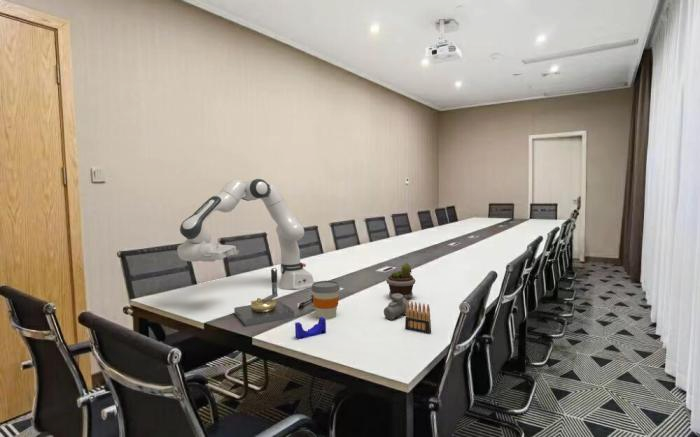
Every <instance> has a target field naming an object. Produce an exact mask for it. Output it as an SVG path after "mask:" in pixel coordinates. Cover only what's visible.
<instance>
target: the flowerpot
mask: <svg viewBox="0 0 700 437" xmlns="http://www.w3.org/2000/svg"><path fill="white" fill-rule="evenodd" d="M408 262H409V261H407V262H406V263H403V264H402V266H401V269H398V270H394V271H392V273H391V275H388V277H387V278H386V280H385V282H386V284H387V285H388V288H389V296H390V297H391V298H392V295H393V294H396V293H398V294H402V295H403V298H405V299H407V301H409V300H410V299H412V297H413V295H414V294H413V287H414V285H415V283H416V279H415V278H414V277H413V275H412V272H413V268H412V267H413V266H411V265H410V263H408Z"/></svg>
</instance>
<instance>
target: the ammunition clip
mask: <svg viewBox="0 0 700 437" xmlns="http://www.w3.org/2000/svg"><path fill="white" fill-rule="evenodd" d="M409 301H410V300H407V307H406V314H405V323H404V329H405V330H408V331H412V332H418V333H423V334H427V335H431V333H432V323H431V321H432V320H431V311H430V309H431V308H430V304H429V303H427V305H426V304H425V302H423V303H422V304H421V302H418V303H417V301H415V302H414V303H413V301H412V300H411V302H409ZM409 304H410V307H409Z"/></svg>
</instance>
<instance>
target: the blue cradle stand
mask: <svg viewBox="0 0 700 437" xmlns="http://www.w3.org/2000/svg"><path fill="white" fill-rule="evenodd" d="M326 320H327V319H325V318H323V317H321V318H318V322H317V323H316V324H314V325H313V326H312V327H311V328H310V329H307V330H304V328H303V324H302V323H301V322H299V321H297V322H295V323H294V326H295V328H294V329H295V330H294V332H295V338H296V339H297V340H303V339H307V338H311V337H316V336H321V335H325V334H327V322H326Z"/></svg>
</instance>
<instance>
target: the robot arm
mask: <svg viewBox="0 0 700 437" xmlns="http://www.w3.org/2000/svg"><path fill="white" fill-rule="evenodd" d="M259 199H260V200H261V201H262V202H263V204H264V206H265V207H266V210H267V211H268V213H269V214H270V217H271V219H272V220H273V221H274V222H275V223H276V228H275V231H276V234H277V237H278V243H279V248H280V259H281V260H280V261H281V263H280V273H281V274H280V275H281V276H280V283H279V288H281V289H284V290H295V291H298V290H301V289H306V288H312V284H313V283H315V282H316V281H315V280H314V277H313V274H312V273H310V272H309V271H307V270H306V269H304V268H305V267H307V264H306V263H302V262H301V250H300V247H299V245H298V241H300V240H301V239H303V237H304V236H305V229H304V227H303V226H302V225H301V224H300V222H299V221H298V220H297V219H298V218H296V217H295V215H294V214H293V213H292V211H291V210H290V208H289V206H288V204H287V203H286V201H285V198H284V197H283V195H282V193H281V192H280V190H279V189H278V188H277V186H276V185H275V184H273V183H267V181H266V180H264V179H261V178H256V179H249V180H247V181H245V182H243V181H241V180H240V179H238V178H237V179H236V178H233V179H231V180H230V181H229V182H227V183H226V184H225V185H224V187H222V188H221V190H220V191H219V192H218V193H217V194H216V195H213V196H211V197H209V198H208V199H207V200H206V201H205V202H204V203H203V204H201V206H199V208H198V209H197V210H195V212H193V214H192V215H190V216H189V217H187V218H186V219H184V220H183V221H182V223H181V224H180V225H179V231H180V234H181V235H182V236H183V237H185V238H186V240H185V241H184V242H183V243H181V244H179V245H178V246H177V248H176V251H177V252H176V253H177V257H179V259H180V260H181V261H184V262H194V263H195V262H199V261H200V262H212V263H213V262H216V261H219V260H223V259H225V258H227V257H230V256H236V255H239V254H240V249H237V246H236V245H232V244H231V245H230V244H222V243H210V242H211V239H212V238H211V234H210V232H208V229H206V227H205V226H204V222H205V221H206V220H207V219H208V218H209V217H210V216H211V215H212V213H214V212H215V211H218V212H221V213H230V212H232V211H233V210H235V208H236V207H237V205H238V204H239V203H240V201H241V200H244V201H247V202H250V201H256V200H259Z"/></svg>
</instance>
